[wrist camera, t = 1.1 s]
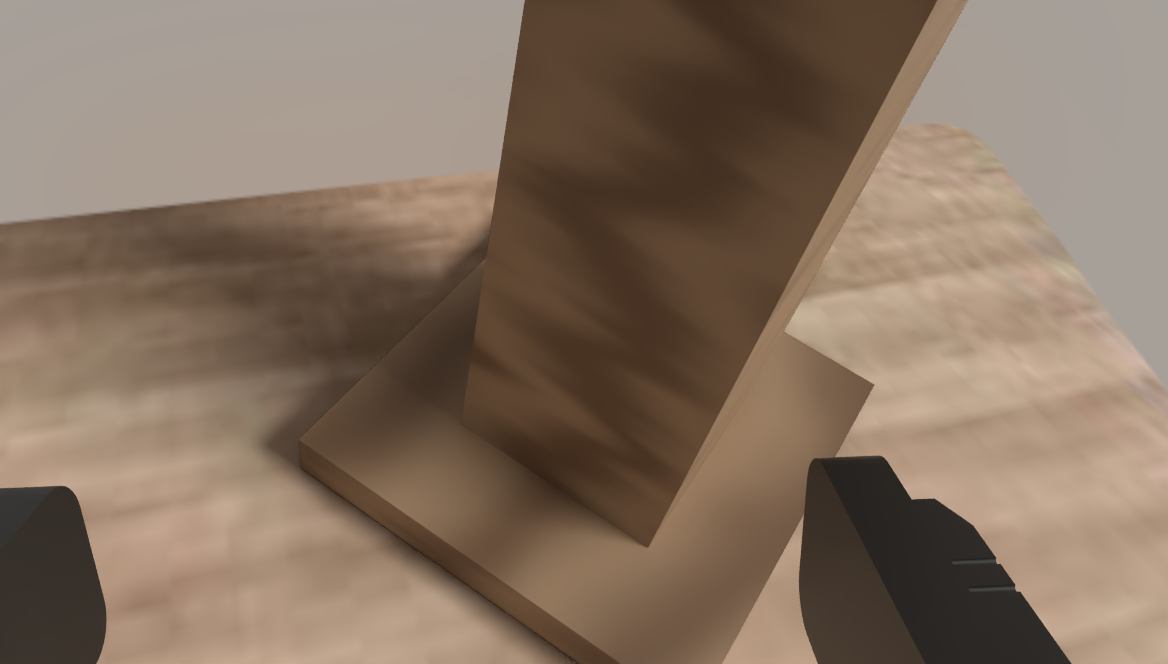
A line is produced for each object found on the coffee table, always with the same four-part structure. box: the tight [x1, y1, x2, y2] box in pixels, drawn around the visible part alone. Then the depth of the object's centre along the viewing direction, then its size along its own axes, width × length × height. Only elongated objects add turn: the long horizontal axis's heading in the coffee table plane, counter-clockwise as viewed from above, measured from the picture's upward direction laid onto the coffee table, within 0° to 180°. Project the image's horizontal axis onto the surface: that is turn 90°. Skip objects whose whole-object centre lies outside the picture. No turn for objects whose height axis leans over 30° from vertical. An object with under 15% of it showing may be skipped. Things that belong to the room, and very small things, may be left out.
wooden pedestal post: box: [298, 0, 968, 664], centre depth 26 cm, size 16×16×32 cm
